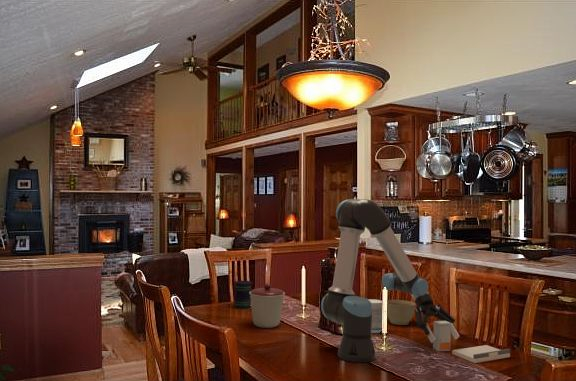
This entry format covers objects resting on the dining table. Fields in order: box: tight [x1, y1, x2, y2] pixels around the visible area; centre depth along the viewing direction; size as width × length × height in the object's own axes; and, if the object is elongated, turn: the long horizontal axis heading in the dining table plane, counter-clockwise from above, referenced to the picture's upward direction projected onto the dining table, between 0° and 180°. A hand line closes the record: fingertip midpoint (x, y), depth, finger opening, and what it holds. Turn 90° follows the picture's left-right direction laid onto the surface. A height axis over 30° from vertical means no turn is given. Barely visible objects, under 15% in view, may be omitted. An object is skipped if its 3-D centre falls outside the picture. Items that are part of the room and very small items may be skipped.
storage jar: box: [233, 280, 252, 310], centre depth 276 cm, size 10×10×15 cm
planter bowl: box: [386, 299, 417, 326], centre depth 247 cm, size 16×16×11 cm
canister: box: [249, 282, 286, 329], centre depth 236 cm, size 18×18×21 cm
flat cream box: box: [451, 344, 511, 364], centre depth 196 cm, size 20×12×3 cm, turn 116°
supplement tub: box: [368, 299, 383, 334], centre depth 231 cm, size 10×10×15 cm
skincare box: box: [432, 320, 452, 352], centre depth 203 cm, size 6×4×12 cm
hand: (445, 339), depth 201 cm, fingers open, 13 cm apart
